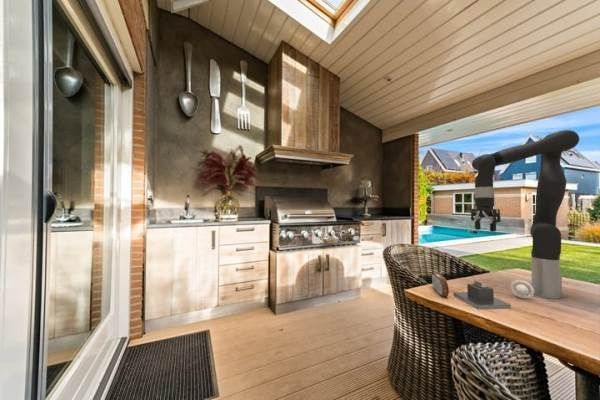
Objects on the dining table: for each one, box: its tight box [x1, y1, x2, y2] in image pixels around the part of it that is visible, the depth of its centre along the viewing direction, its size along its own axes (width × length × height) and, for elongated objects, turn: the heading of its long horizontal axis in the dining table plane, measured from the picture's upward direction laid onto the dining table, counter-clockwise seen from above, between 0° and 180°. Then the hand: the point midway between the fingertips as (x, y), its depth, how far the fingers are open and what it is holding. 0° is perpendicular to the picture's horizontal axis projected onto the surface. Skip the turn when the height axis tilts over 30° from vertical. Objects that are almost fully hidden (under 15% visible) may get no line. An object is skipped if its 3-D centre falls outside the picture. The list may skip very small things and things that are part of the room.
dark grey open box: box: [467, 283, 495, 301], centre depth 105 cm, size 6×6×5 cm
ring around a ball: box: [510, 279, 535, 300], centre depth 108 cm, size 8×6×8 cm
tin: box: [431, 272, 450, 297], centre depth 115 cm, size 15×3×8 cm, turn 168°
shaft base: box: [453, 279, 512, 310], centre depth 105 cm, size 14×14×9 cm
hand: (485, 230), depth 116 cm, fingers open, 8 cm apart
